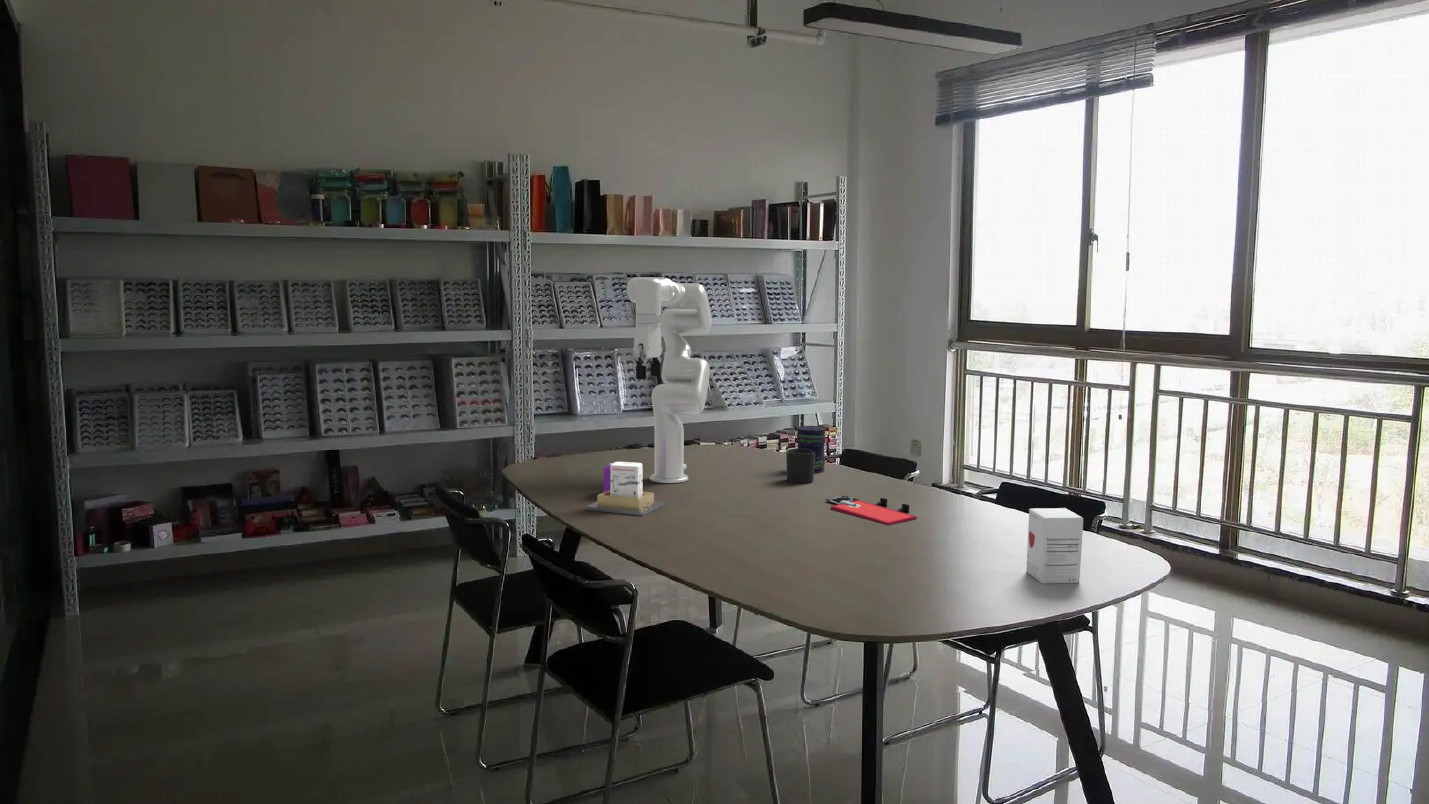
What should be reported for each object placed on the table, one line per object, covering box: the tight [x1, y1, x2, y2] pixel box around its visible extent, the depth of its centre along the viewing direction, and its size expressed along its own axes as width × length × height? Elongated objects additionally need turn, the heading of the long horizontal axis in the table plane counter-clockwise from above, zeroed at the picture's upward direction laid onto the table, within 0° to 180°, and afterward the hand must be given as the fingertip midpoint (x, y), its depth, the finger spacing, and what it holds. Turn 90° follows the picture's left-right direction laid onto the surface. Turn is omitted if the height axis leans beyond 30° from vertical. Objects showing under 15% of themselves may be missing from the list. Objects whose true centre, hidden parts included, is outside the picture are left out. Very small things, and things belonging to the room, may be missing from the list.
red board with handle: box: [825, 495, 918, 526], centre depth 280 cm, size 30×3×15 cm
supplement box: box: [1025, 507, 1084, 585], centre depth 218 cm, size 9×9×15 cm
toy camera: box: [603, 461, 616, 493], centre depth 299 cm, size 11×14×10 cm
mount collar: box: [585, 490, 665, 517], centre depth 281 cm, size 14×18×4 cm
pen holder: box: [785, 448, 815, 485], centre depth 319 cm, size 9×9×10 cm
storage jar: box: [796, 425, 826, 474], centre depth 336 cm, size 10×10×15 cm
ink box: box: [610, 461, 644, 498], centre depth 281 cm, size 9×5×12 cm, turn 77°
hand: (648, 377), depth 291 cm, fingers open, 9 cm apart
